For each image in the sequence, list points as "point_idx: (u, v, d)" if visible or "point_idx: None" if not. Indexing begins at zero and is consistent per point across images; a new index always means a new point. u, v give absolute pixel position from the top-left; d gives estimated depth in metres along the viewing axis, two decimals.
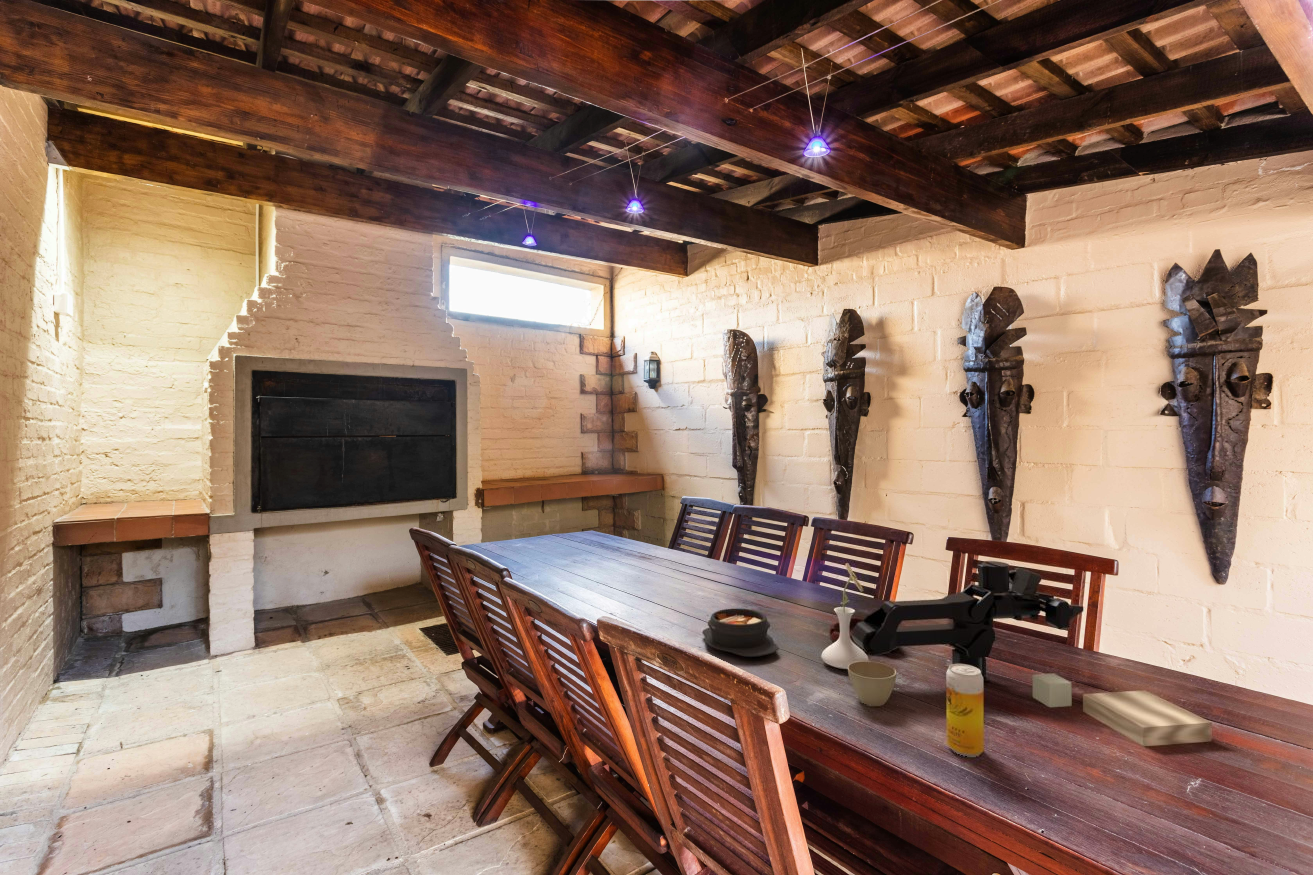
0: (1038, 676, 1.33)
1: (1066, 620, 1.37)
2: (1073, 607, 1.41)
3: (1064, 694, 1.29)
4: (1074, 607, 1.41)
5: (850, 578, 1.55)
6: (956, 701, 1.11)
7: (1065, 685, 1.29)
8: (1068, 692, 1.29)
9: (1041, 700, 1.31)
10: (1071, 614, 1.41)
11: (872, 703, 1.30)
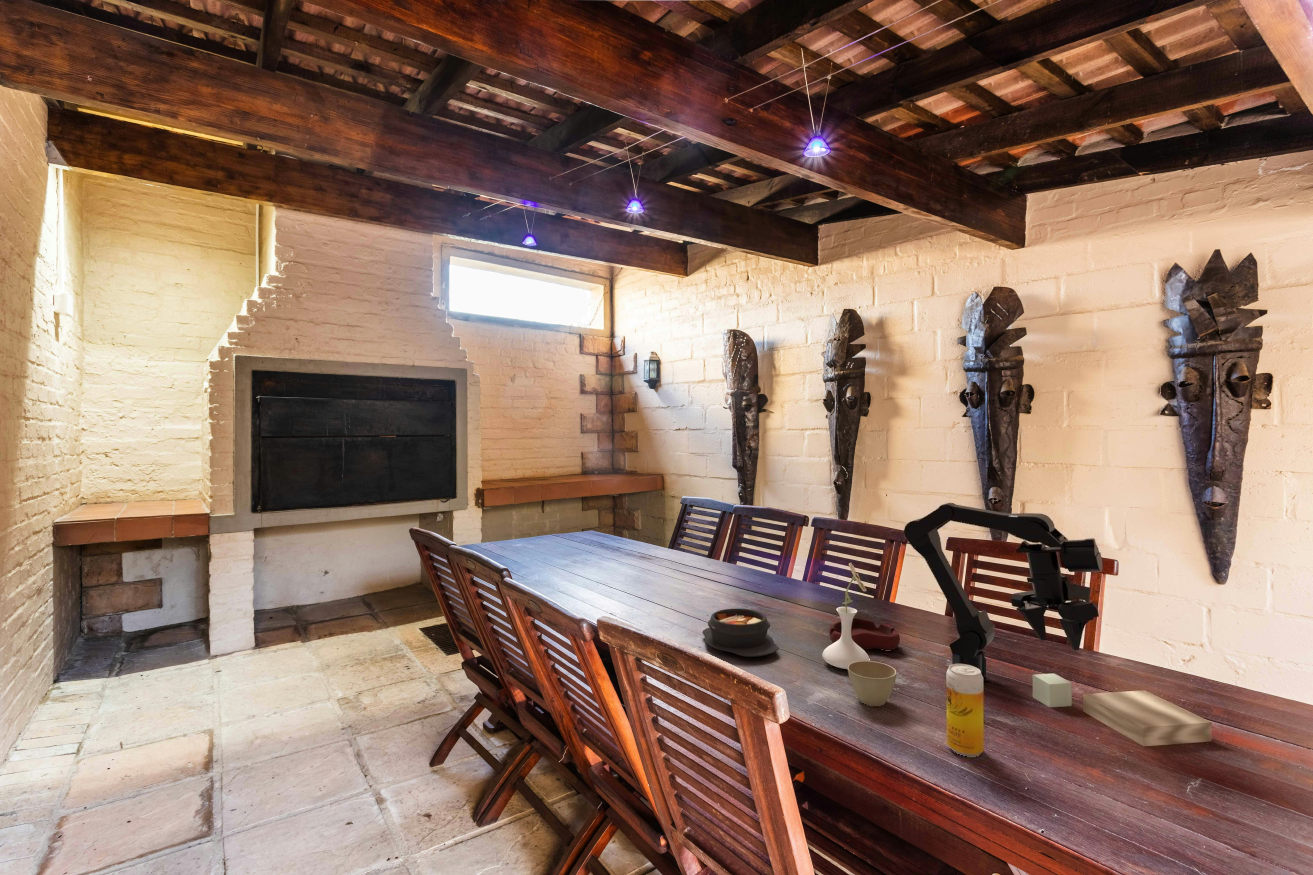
0: (1038, 676, 1.33)
1: (1082, 615, 1.23)
2: (1080, 634, 1.27)
3: (1064, 694, 1.29)
4: (1080, 635, 1.27)
5: (853, 578, 1.54)
6: (956, 701, 1.11)
7: (1065, 685, 1.29)
8: (1068, 692, 1.29)
9: (1041, 700, 1.31)
10: (1073, 632, 1.26)
11: (872, 703, 1.30)
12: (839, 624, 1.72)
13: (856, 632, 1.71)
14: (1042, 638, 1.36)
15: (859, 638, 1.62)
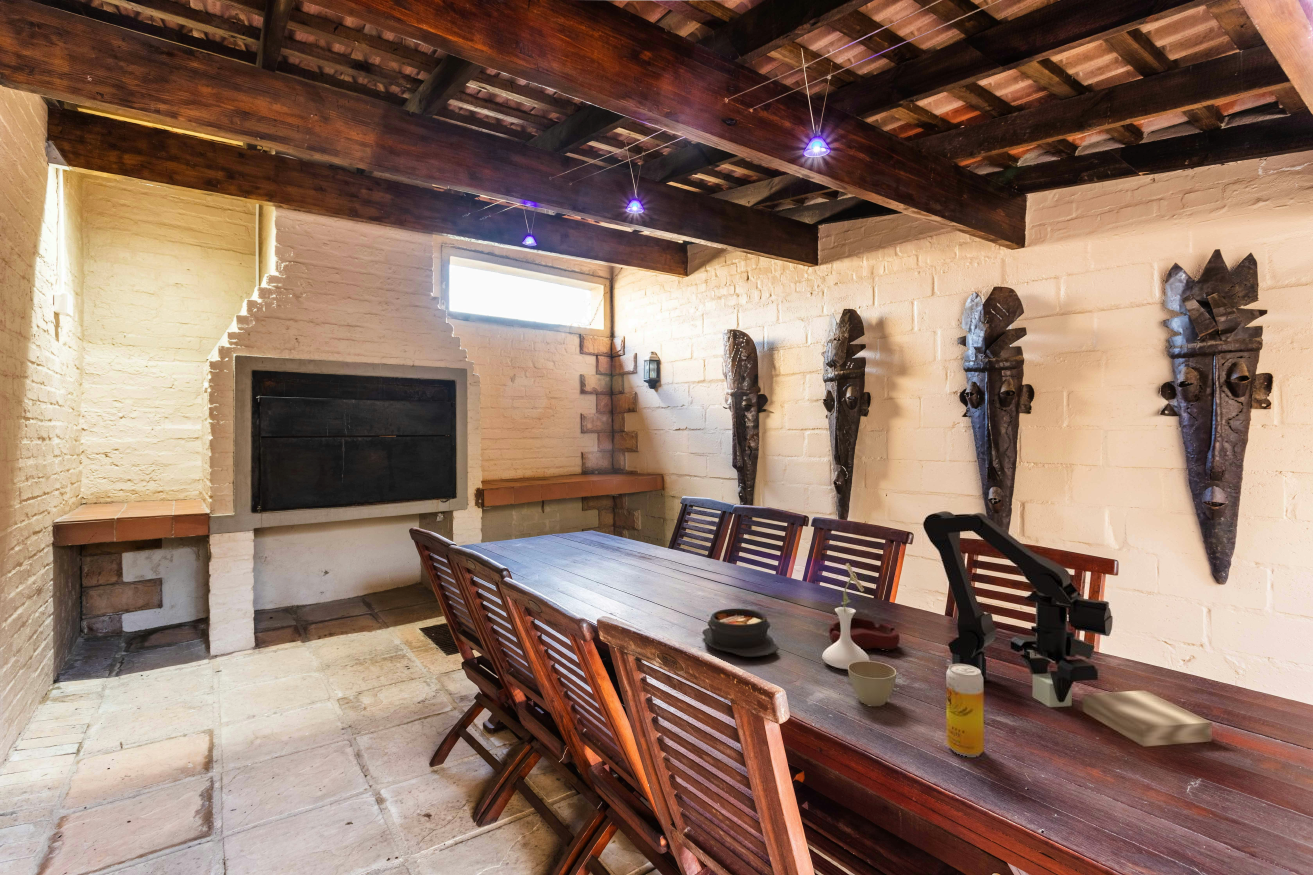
0: (1038, 676, 1.33)
1: (1081, 677, 1.22)
2: (1068, 688, 1.28)
3: None
4: (1068, 689, 1.28)
5: (851, 578, 1.55)
6: (956, 701, 1.11)
7: None
8: (1068, 692, 1.29)
9: (1041, 699, 1.31)
10: (1061, 685, 1.28)
11: (872, 704, 1.30)
12: (839, 624, 1.72)
13: (855, 632, 1.71)
14: None
15: (859, 638, 1.62)
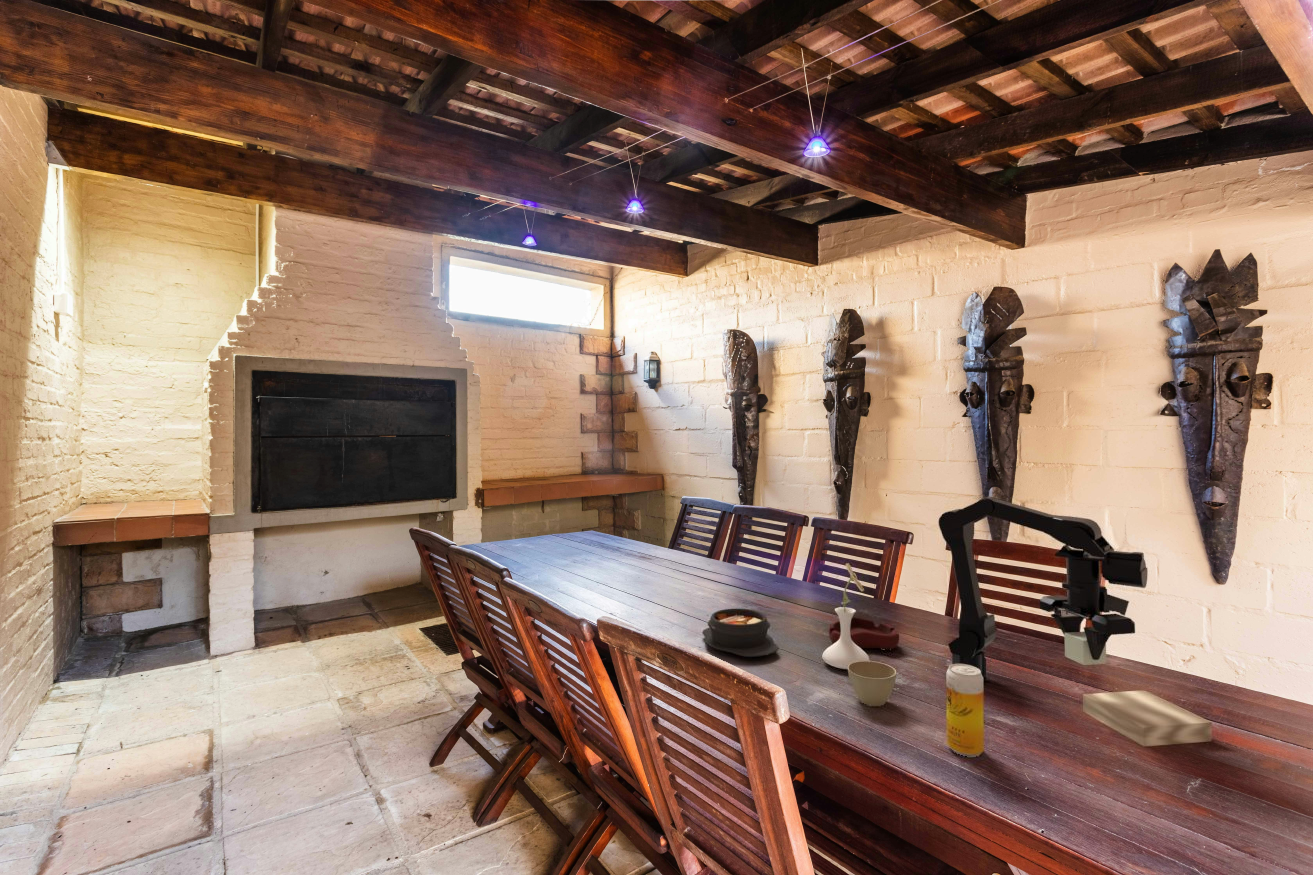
0: (1071, 634, 1.28)
1: (1118, 630, 1.18)
2: (1103, 644, 1.23)
3: None
4: (1103, 646, 1.24)
5: (851, 578, 1.55)
6: (956, 701, 1.11)
7: None
8: None
9: (1074, 658, 1.27)
10: (1096, 642, 1.23)
11: (872, 704, 1.30)
12: (839, 623, 1.72)
13: (855, 631, 1.71)
14: None
15: (859, 637, 1.62)
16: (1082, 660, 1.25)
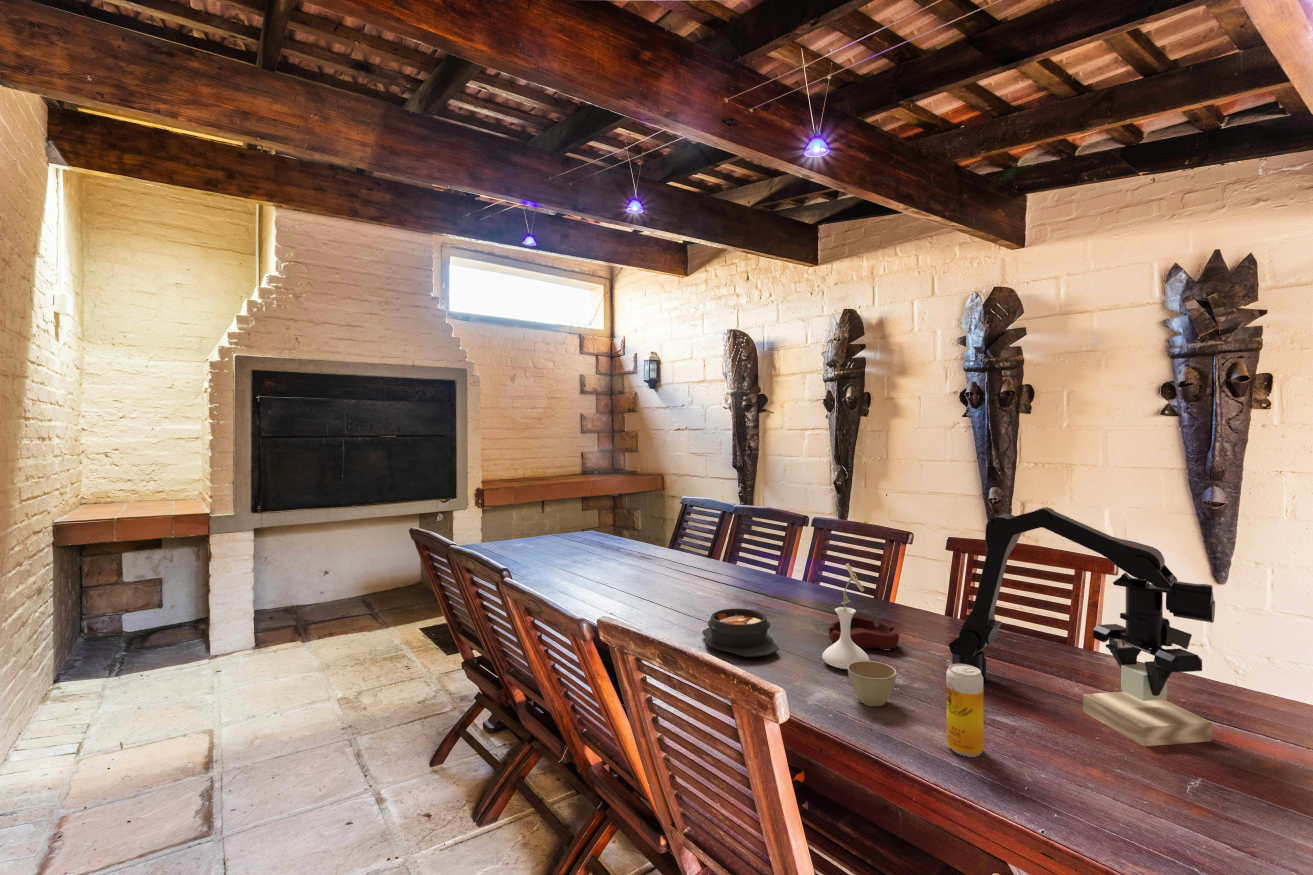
0: (1128, 667, 1.22)
1: (1184, 668, 1.11)
2: (1165, 680, 1.17)
3: None
4: (1164, 681, 1.17)
5: (851, 578, 1.55)
6: (956, 701, 1.11)
7: None
8: None
9: (1132, 693, 1.20)
10: (1157, 677, 1.17)
11: (872, 704, 1.30)
12: (838, 623, 1.72)
13: (855, 631, 1.71)
14: None
15: (858, 637, 1.62)
16: (1141, 695, 1.18)
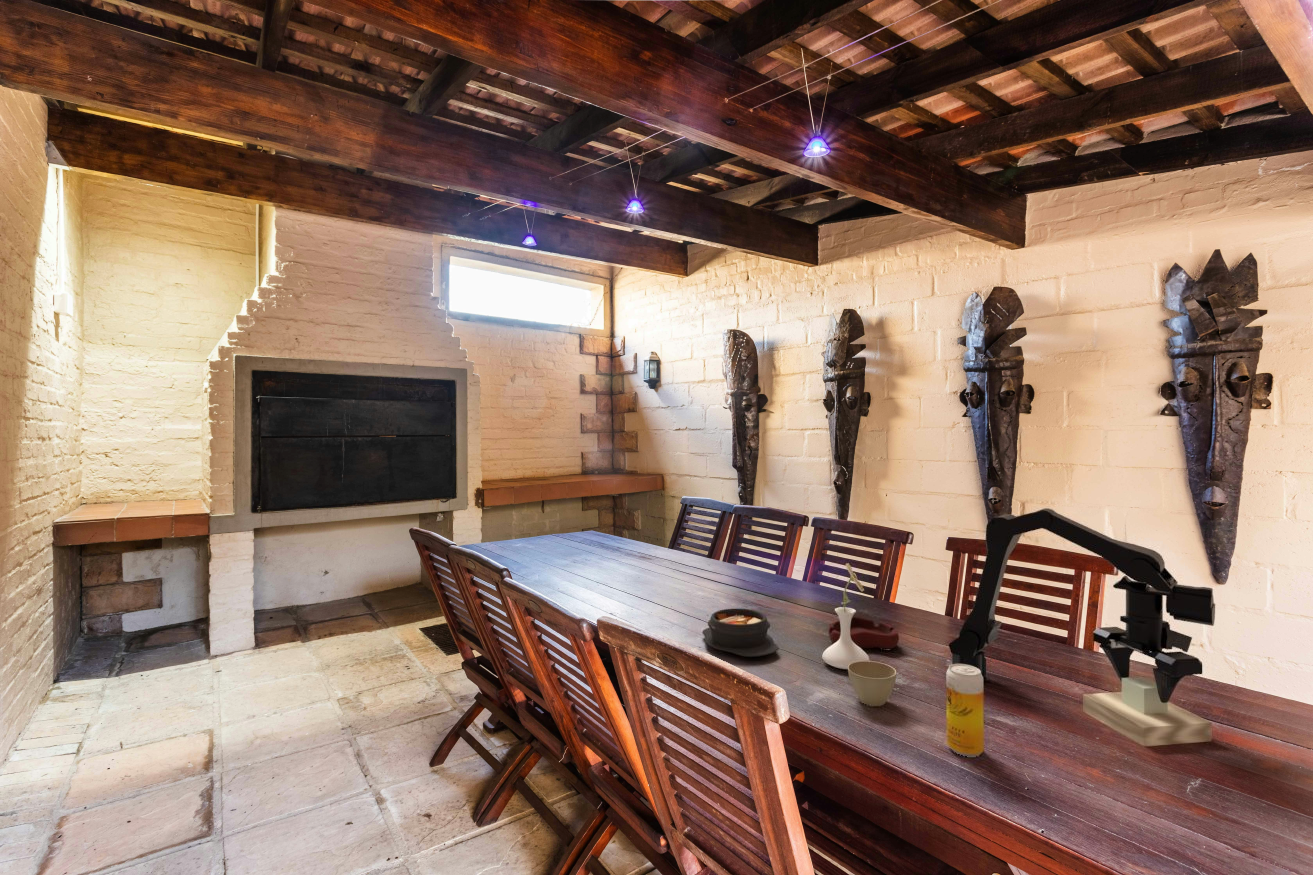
0: (1129, 680, 1.22)
1: (1185, 671, 1.11)
2: (1173, 687, 1.15)
3: None
4: (1172, 688, 1.15)
5: (851, 578, 1.55)
6: (956, 701, 1.11)
7: None
8: None
9: (1133, 706, 1.20)
10: (1166, 684, 1.15)
11: (872, 703, 1.30)
12: (838, 623, 1.73)
13: (855, 631, 1.72)
14: None
15: (858, 637, 1.63)
16: (1142, 709, 1.18)
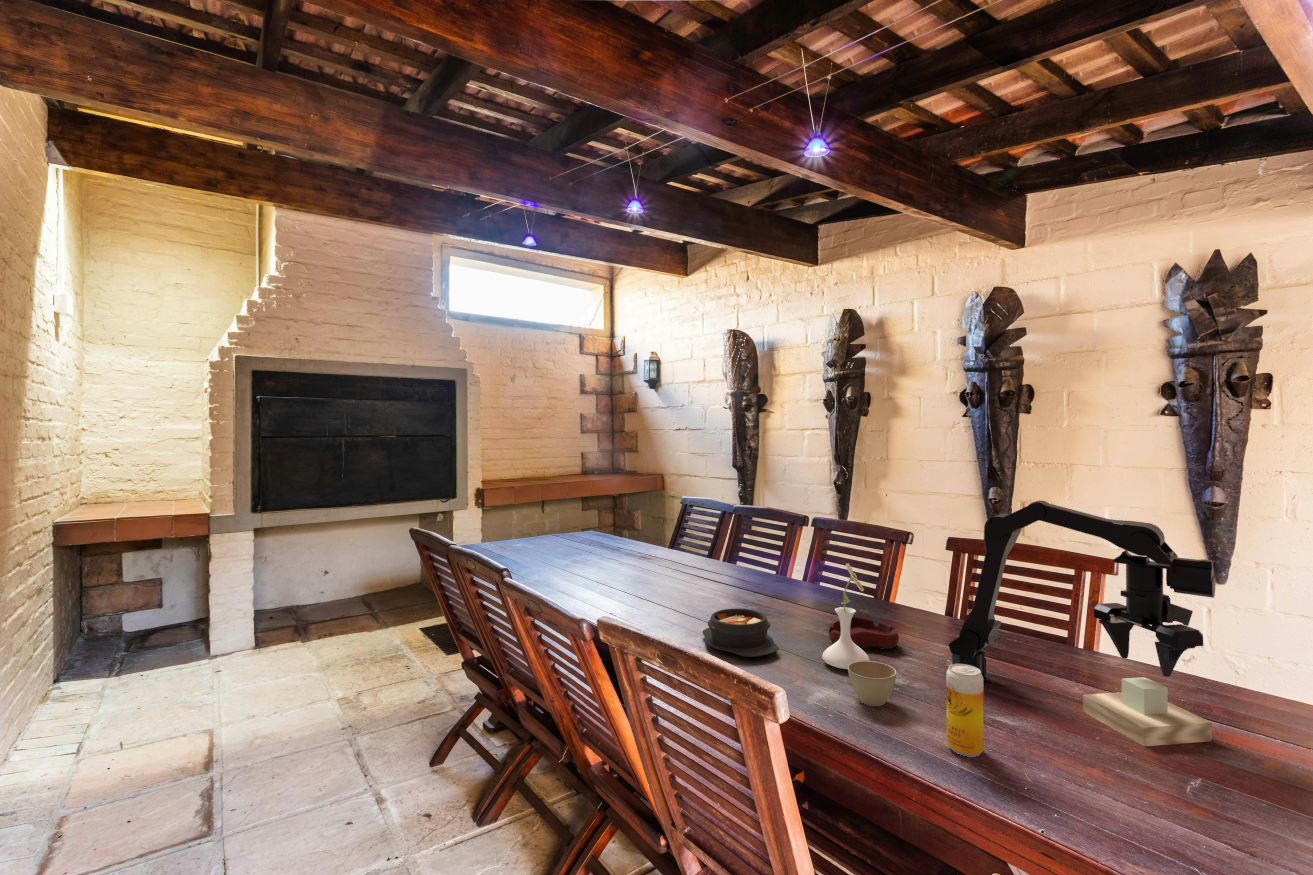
0: (1129, 681, 1.21)
1: (1185, 643, 1.11)
2: (1175, 660, 1.15)
3: (1160, 700, 1.18)
4: (1175, 662, 1.15)
5: (851, 578, 1.55)
6: (956, 701, 1.11)
7: (1161, 690, 1.18)
8: (1164, 698, 1.18)
9: (1133, 706, 1.20)
10: (1168, 657, 1.14)
11: (872, 703, 1.30)
12: (838, 623, 1.73)
13: (855, 631, 1.72)
14: (1124, 656, 1.25)
15: (858, 637, 1.63)
16: (1142, 709, 1.18)
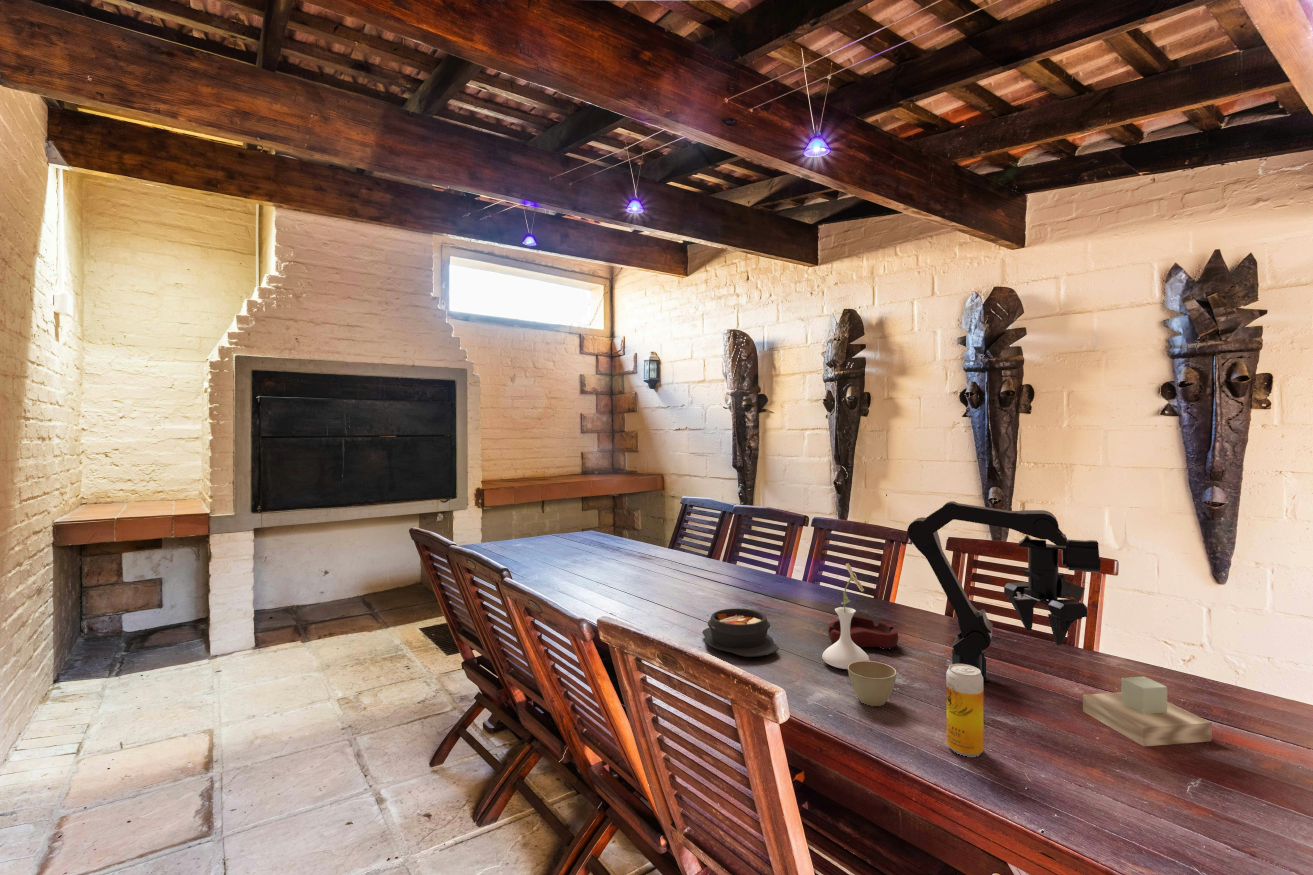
0: (1129, 680, 1.22)
1: (1071, 614, 1.27)
2: (1066, 630, 1.31)
3: (1159, 699, 1.18)
4: (1065, 632, 1.31)
5: (851, 578, 1.55)
6: (956, 701, 1.11)
7: (1160, 689, 1.18)
8: (1163, 697, 1.18)
9: (1133, 706, 1.20)
10: (1059, 628, 1.31)
11: (872, 703, 1.30)
12: (838, 623, 1.73)
13: (855, 631, 1.72)
14: (1028, 628, 1.41)
15: (858, 636, 1.63)
16: (1142, 709, 1.18)
